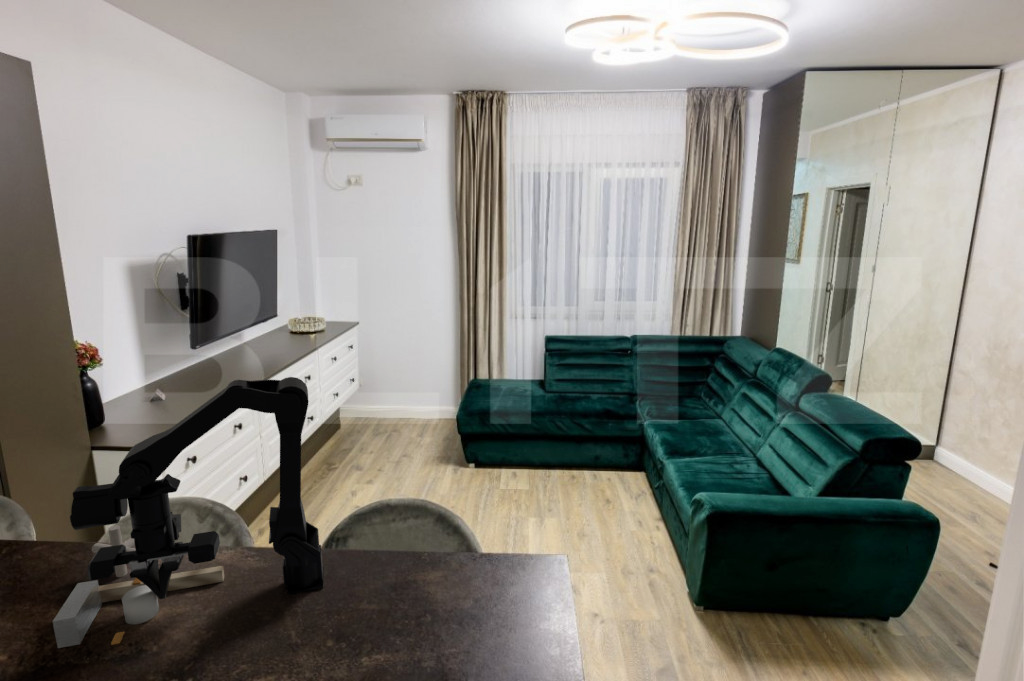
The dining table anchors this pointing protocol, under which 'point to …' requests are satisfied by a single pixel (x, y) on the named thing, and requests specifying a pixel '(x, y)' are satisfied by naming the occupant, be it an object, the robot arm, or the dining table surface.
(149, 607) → the grey egg-shaped dome
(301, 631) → the dining table surface
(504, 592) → the dining table surface
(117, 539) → the pipe connector
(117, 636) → the small orange-brown block
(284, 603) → the dining table surface
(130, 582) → the oak rail
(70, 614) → the block
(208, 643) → the dining table surface
